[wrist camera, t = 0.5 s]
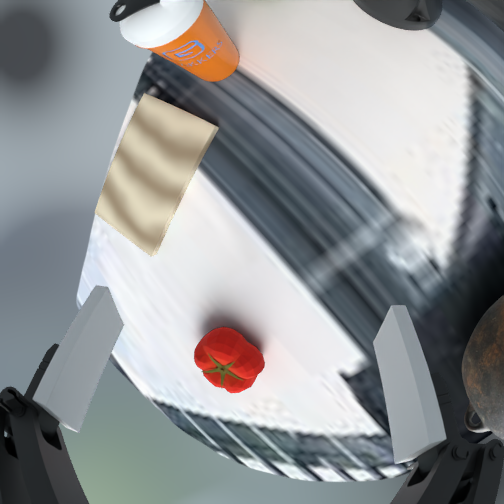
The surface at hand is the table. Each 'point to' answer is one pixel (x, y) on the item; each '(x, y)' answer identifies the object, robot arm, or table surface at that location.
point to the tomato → (228, 359)
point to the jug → (486, 372)
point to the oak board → (152, 171)
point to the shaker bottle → (179, 34)
